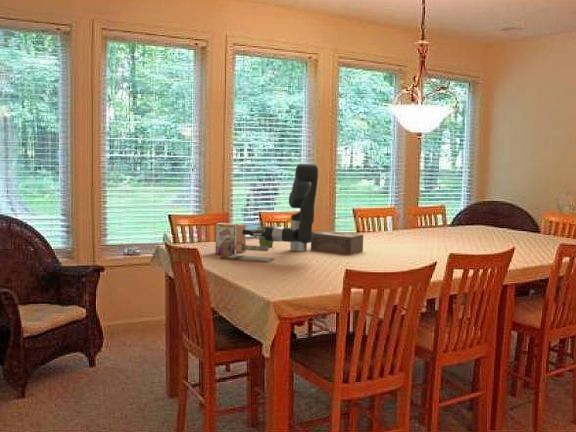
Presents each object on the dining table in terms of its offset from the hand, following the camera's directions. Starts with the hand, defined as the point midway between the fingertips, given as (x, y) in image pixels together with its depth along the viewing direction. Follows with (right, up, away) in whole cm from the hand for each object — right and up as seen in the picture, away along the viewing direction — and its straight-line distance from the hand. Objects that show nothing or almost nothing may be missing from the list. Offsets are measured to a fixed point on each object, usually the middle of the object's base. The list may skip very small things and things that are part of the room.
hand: (243, 231), depth 322 cm
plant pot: (+10, -10, +42) cm, 44 cm away
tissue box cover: (+51, -12, +34) cm, 62 cm away
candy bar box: (-10, -12, +15) cm, 22 cm away
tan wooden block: (-2, -11, +2) cm, 11 cm away
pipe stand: (+2, -14, +1) cm, 14 cm away
